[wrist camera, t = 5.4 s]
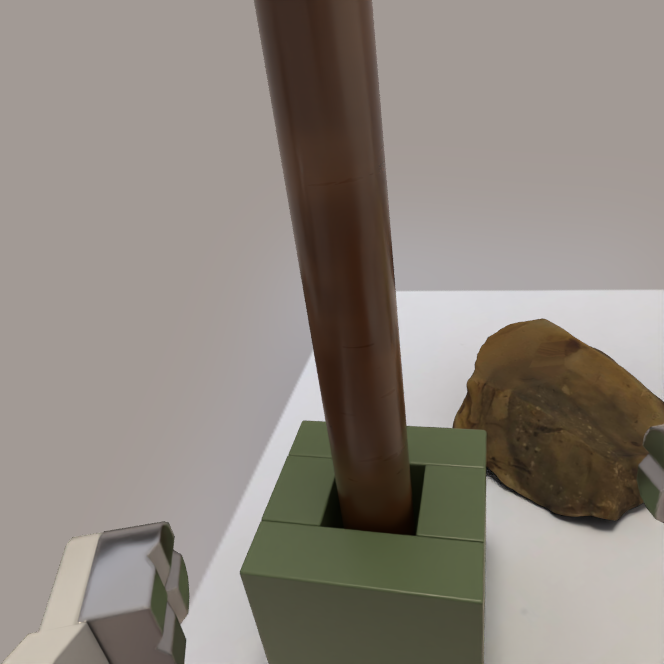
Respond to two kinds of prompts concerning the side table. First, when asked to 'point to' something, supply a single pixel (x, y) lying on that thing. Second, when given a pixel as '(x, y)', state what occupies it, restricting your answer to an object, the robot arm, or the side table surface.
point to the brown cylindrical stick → (343, 243)
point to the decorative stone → (560, 420)
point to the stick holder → (373, 561)
